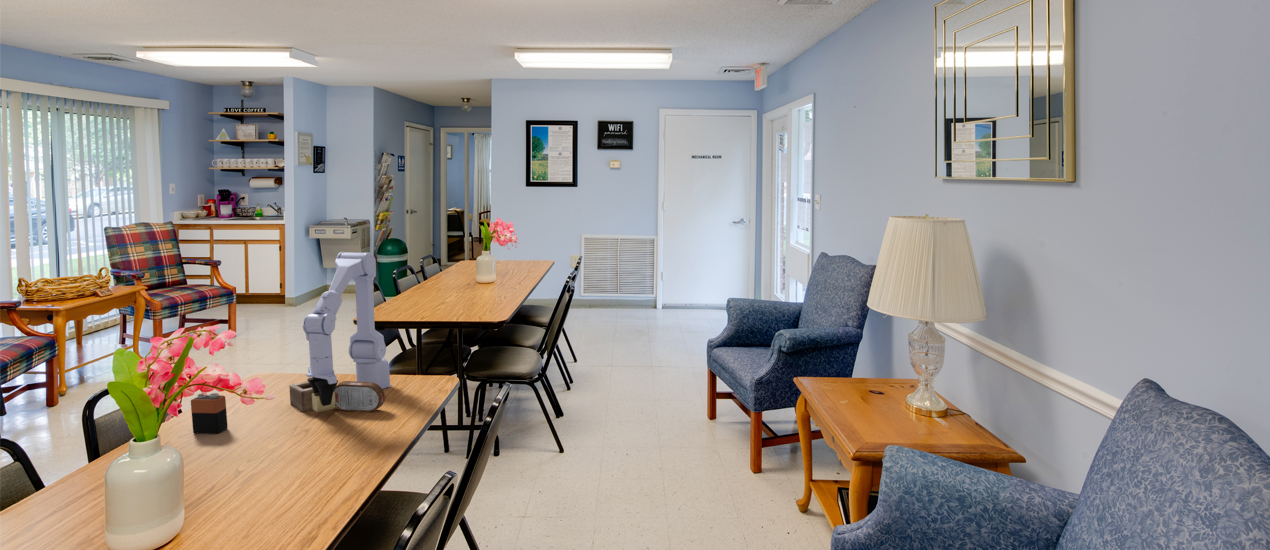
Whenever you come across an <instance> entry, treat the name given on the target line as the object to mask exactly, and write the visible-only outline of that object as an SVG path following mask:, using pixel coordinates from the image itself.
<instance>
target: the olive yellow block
mask: <svg viewBox="0 0 1270 550" xmlns="http://www.w3.org/2000/svg"><path fill="white" fill-rule="evenodd" d="M312 406H313V410H312V411H315V412H316V413H320V412H324V411H328V410H332V409H336V408H337V407H336V406H335V392H333V397H332V402H331V405H326V406H323V405H322V402H321V398H320V393H319V392H318V393H313V394H312Z"/></svg>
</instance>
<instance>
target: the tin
mask: <svg viewBox="0 0 1270 550" xmlns="http://www.w3.org/2000/svg"><path fill="white" fill-rule="evenodd" d="M334 392H335V407H336V408H337V409H339V410H340V411H344V412H357V411H373V412H375V411H377V410H378V409H380V408H381V407H382V406H383V405H384V403H385V400H386V395H385V391H384V388H383V389H382V388H381V387H380V386H379V385H378V384H376V383H373V382H357V380H356V381H354V380H353V381H352V380H343V381H340V382H338V383H337V386H336V387H335V389H334Z"/></svg>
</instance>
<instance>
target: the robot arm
mask: <svg viewBox="0 0 1270 550" xmlns="http://www.w3.org/2000/svg"><path fill="white" fill-rule="evenodd" d="M334 266H335V270H336V271H335V273H334V274H333V275H334V276H333V279H332V281H331V284H330V286H329V288H328V291H325V292H323V293H322V294H321V295H320V298H319V299H318V301H317V303H316V305H315V306H314V309H313V311H312V313H309V314H308V315H306V316H305V318H304V320H303V325H302V329H303V331H304V334H305V337H306V338H305V339H306V340H307V341H308V349H309V350H308V351H309V353H308V354H309V366H308V367H307V368H308V371H307V372H306V374H305V375H306V376H305V377H307V379H306V380H307V381H308V382H309V383H310V385H311V387H312V389H313V392H314V393H318V392H319V393H320V398H321V402H322V405H323V406H326V405H331V402H332V397H333V392H334V389H335V387H336V385H338V384H339V381H338V376H337V375H336V374H335V370H334V363H333V362H334V361H333V359H334V358H333V345H332V342H333V341H332V334H333V332H334V331H335V329H336V320H337V314H338V311H339V309H340V308H341V305H342V303H343V299H342V297H341V296H342V294H343V293H344V292H345V289H346V288H347V286H348V285H349V283H350V282H351V280H353V281H354V282H355V300H356V301H355V302H356V303H355V304H356V308H355V309H356V310H355V311H356V332H355V333H354V334H352V335H351V336H350V337H349V338H350V340H349V345H348V355H349V357H350V358H351V359H352V360H353V363H355V371H356V372H355V374H356V375H355V376H356V377H355V378H356V381H357V382H373V383H376V384H378V385H379V386H380V387H381V388H382V389H383V390H384V389H387V387H388V388H392V385H391V380H390V379H391V377H390V376H391V375H390V364H389V361H388V360H387V359H386V358H384V357H385V356H386V352H387V346H386V343H385V338H384V335H383V334H382V333H381V332H379V331H378V330H376V327H375V305H374V304H375V303H374V301H375V300H374V299H375V297H374V279H375V278H376V277H377V262H376V257H375V256H374V255H373V253H371V252H369V251H368V252H348V251H347V252H345V251H340V252H339V253H337V256H336V258H335V261H334Z"/></svg>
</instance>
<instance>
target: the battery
mask: <svg viewBox="0 0 1270 550" xmlns="http://www.w3.org/2000/svg"><path fill="white" fill-rule="evenodd" d="M203 394H204V393H198V394H197V396H196V397H194V398H192V399H191V400H190V408H191V409H190V410H191V421H192V432H193V434H198V435H199V434H201V433H202V434H203V433H205V434H206V433H208V434H209V433H210V434H209V435H219V433H222V432H223V431H225V430H227V429H228V416H227V413H228V412H227V403H226V402H227V400H226V395H222V394H221V395H219V392H218V393H217V392H214V393H210V394H205V395H203ZM212 433H213V434H212ZM205 434H204V435H205ZM206 435H207V434H206Z"/></svg>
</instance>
